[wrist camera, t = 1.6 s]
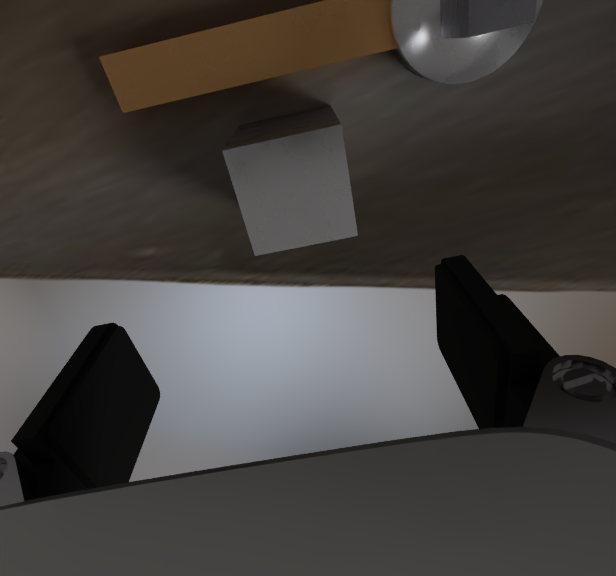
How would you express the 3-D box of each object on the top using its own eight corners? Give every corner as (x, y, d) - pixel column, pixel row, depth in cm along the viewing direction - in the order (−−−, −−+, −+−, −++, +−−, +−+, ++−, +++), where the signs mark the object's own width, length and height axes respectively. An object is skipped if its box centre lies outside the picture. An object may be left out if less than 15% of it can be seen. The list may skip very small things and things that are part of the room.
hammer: (530, -110, 20) (618, -168, 15) (516, 64, 24) (581, 70, 19) (91, 6, 22) (23, -7, 17) (149, 147, 26) (110, 175, 21)
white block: (330, 105, 25) (341, 124, 19) (344, 195, 28) (357, 235, 23) (238, 126, 26) (222, 150, 20) (263, 212, 29) (255, 255, 23)
